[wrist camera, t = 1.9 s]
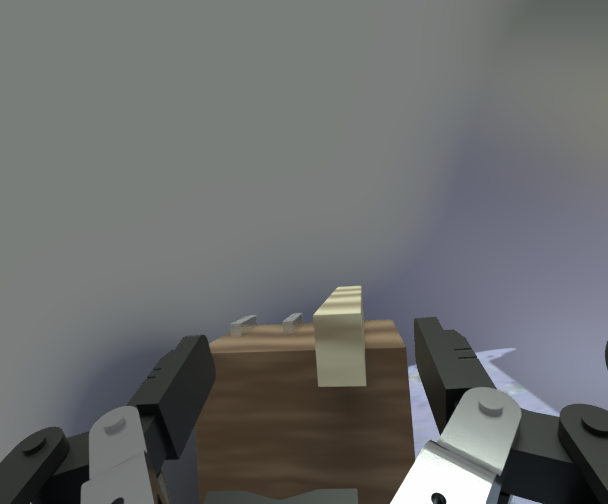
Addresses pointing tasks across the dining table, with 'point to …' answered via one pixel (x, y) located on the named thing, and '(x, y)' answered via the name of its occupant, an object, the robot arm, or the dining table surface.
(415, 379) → the dining table surface
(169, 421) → the robot arm
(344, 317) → the bar
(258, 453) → the stand
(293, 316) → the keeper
